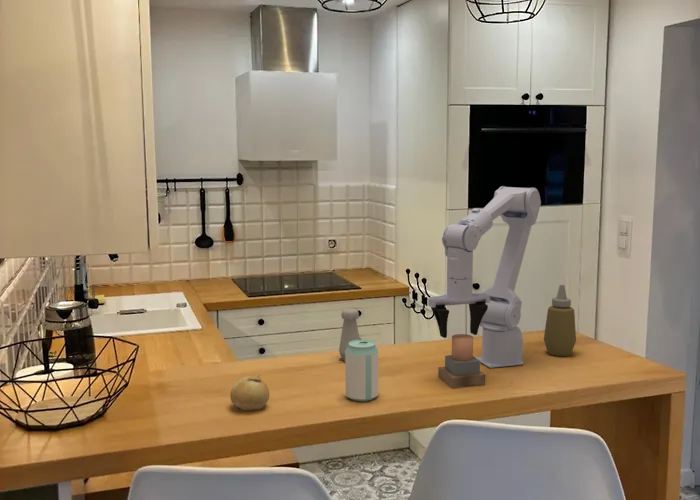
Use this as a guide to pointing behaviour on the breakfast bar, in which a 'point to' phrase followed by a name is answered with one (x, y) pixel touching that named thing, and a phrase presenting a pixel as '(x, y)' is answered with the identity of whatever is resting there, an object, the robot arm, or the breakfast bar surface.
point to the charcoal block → (462, 366)
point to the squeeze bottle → (560, 325)
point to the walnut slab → (460, 379)
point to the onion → (249, 393)
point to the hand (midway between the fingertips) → (458, 335)
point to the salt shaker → (348, 329)
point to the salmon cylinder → (462, 347)
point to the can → (361, 370)
